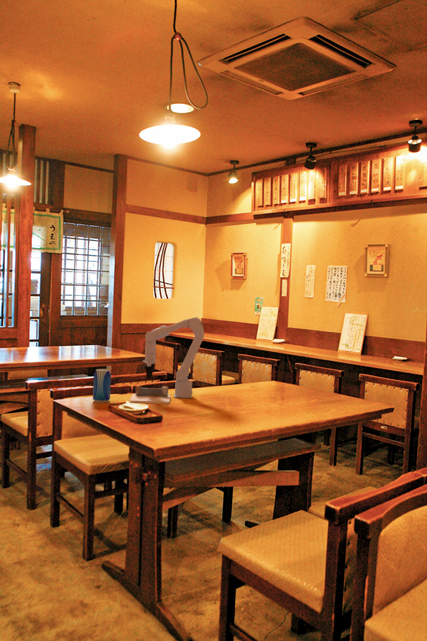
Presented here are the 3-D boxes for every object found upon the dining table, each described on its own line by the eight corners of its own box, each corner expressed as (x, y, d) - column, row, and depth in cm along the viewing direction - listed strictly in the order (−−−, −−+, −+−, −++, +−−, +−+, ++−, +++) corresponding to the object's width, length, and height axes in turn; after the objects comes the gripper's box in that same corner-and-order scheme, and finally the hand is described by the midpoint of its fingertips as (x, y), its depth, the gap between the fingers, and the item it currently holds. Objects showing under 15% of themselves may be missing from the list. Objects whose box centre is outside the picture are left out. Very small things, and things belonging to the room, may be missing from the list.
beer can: (107, 403, 248) (109, 371, 248) (90, 402, 248) (92, 370, 248) (111, 400, 257) (112, 369, 256) (95, 399, 257) (96, 368, 256)
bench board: (170, 396, 272) (170, 394, 272) (169, 403, 254) (169, 401, 254) (133, 395, 271) (133, 393, 271) (129, 402, 253) (129, 400, 253)
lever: (168, 395, 270) (168, 386, 270) (167, 396, 266) (168, 387, 266) (135, 393, 269) (136, 385, 269) (135, 395, 265) (135, 386, 265)
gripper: (144, 351, 282) (143, 375, 282) (141, 354, 267) (140, 379, 268) (156, 351, 282) (155, 375, 283) (155, 354, 268) (154, 380, 268)
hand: (149, 377), depth 275 cm, fingers open, 6 cm apart
